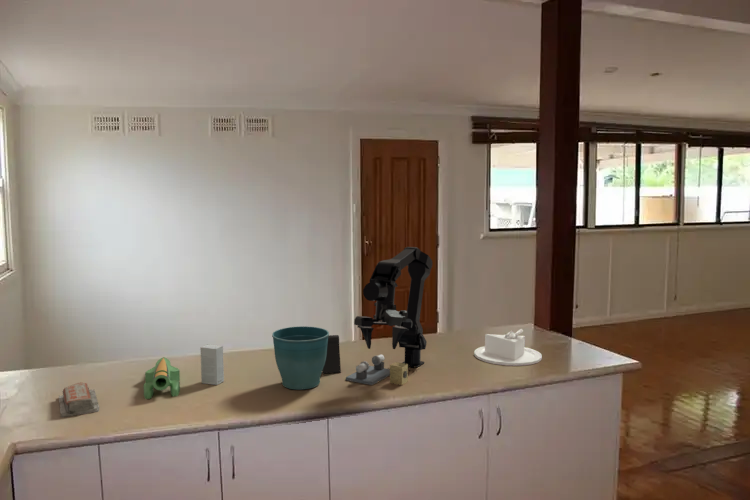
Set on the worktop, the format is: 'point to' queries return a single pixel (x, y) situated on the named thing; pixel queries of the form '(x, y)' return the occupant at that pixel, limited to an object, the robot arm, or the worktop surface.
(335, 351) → the phone stand
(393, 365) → the tan block
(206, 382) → the skincare box
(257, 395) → the worktop surface
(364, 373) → the grey plate with pegs
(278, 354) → the flower pot
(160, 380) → the toy spaceship
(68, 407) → the packaged product
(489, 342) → the dish
